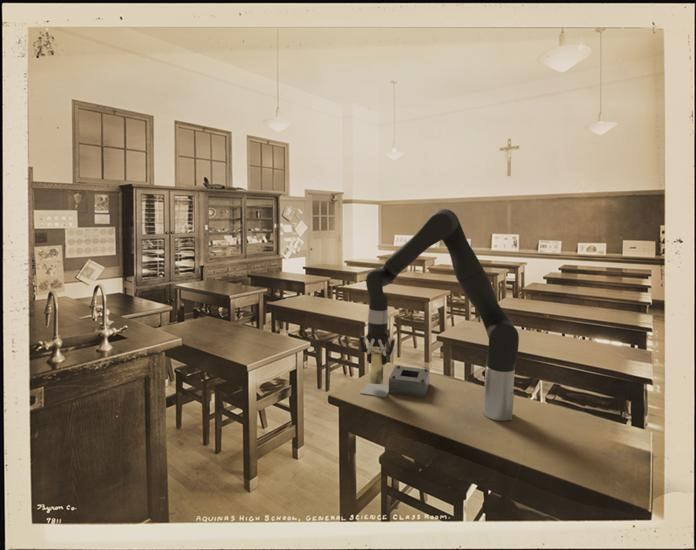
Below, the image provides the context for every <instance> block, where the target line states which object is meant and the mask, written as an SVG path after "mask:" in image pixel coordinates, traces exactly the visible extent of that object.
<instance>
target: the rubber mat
mask: <svg viewBox="0 0 696 550" xmlns="http://www.w3.org/2000/svg"><path fill="white" fill-rule="evenodd" d="M388 394H390V393H389V384H387V385H386V384H373V383H371V382H366V384H365V385H364V387H363V388H362V390H361V392H360V395H367V396H372V397H373V396H374V397H382V398H387V397H388Z"/></svg>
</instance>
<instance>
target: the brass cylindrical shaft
mask: <svg viewBox="0 0 696 550" xmlns="http://www.w3.org/2000/svg"><path fill="white" fill-rule="evenodd" d="M369 373H370V374H369V376H370V377H369V381H370V382H369V383H373V384H380V385H382V384H383V383H384V365H383V352H382V350H381V349H372V350H371V363H370V371H369Z"/></svg>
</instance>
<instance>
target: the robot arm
mask: <svg viewBox="0 0 696 550" xmlns="http://www.w3.org/2000/svg"><path fill="white" fill-rule="evenodd" d="M440 241H442V242H443V244H444V245H445V247H446V249H447V250H448V253H449V256H450V259H451V261H450V262H451V265H452V269H453V272H454V275H455V278H456V280H457V282H458V284H459V286H460V288H461V289H462V291H463V293H464V295H465V296H466V298H467V299H468V300H469V302H470V303H471V304H472V305H473V307H474V308H475V309H476V311H477V312H478V314H479V317H480V320H481V321H482V324H483V326H484V328H485V331H486V334H487V338H488V349H487V356H486V361H485V375H484V387H483V388H484V391H483V392H484V393H483V406H482V414H483V415H484V416H485V417H486V418H488V419H491V420H493V421H498V422H502V421H503V422H504V421H513V411H514V398H515V397H514V396H515V393H514V387H515V374H516V371H515V370H516V364H517V361H518V356H519V355H518V353H519V343H520V334H519V332H518V330H517V328H516V327H515V325H514V324H513V323H512V322H511V320H510V319H509V317H508V316H507V315H506V313H505V312H504V310H503V309H502V307H501V305H500V304H499V302H498V299H497V297H496V294H495V291H494V290H495V289H494V288H493V285H492V283H491V280H490V279H489V277H488V275H487V273H486V271H485V269H484V267H483V266H482V264H481V262H480V260H479V259H478V257H477V255H476V253H475V251H474V250H473V249H472V246H471V245H470V243H469V242H468V239H467V238H466V235H465V232H464V230H463V227H462V224H461V222H460V219H459V217H458V215H457V214H456V213H455V212H454V211H452V210H451V209H448V208H444V209H443V208H442V209H439V210H437V211H435V212H434V213H432V214H431V215H430V216H429V217H428V219H427V221H425V223H424V224H423V226H421V228H420V229H419V230H418V231H417V233H415V234H414V235H413V236H412V237H411V238H410V239H409V240H408V241H406V242H405V243H404V244H403V245H401V246H400V247H399V248H397V249H396V250H395V251H394V252H393V253H391V255H389V256H388V257H387V259H386V260H385V261H384V264H383V265H382V266H381V267H379V268H374V269H371V270H369V271H368V273H367V275H366V277H365V283H366V288H367V289H366V290H367V294H368V298H369V303H368V305H369V306H368V312H367V313H368V316H367V334H366V335H364V334H363V335H361V336H360V337H359V342H360V346H361V350H362V352H363V353H366V362H367V363H368V364H371V351H372V350H373V348H375V347H377V348H380V350H382V352H383V366H385V365H386V364H387V362H388V356H391V355H392V353H393V351H394V348H395V344H396V338H391V337H390V336H389V335H388V332H389V331H388V329H389V328H388V327H389V326H388V325H389V311H388V308H389V307H388V306H389V303H388V302H389V298H388V297H389V296H388V295H387V294H386V293H384V289H383V287H386V286H388V285H389V284H391V283H392V282H393V281H394V280H395V279H396V278H397V277H398V275H399V274H400V273H402V272H403V271H404V270H405V269H407V268H408V267H410V266H411V264H412V263H413V262H415V261H416V260H417V258H419V257H420V256H421V255H422V254H423V253H424V252H425V251H426V250H428V249H429V248H430V247H433V245H435V244H437V243H438V242H440ZM366 341H368V343H369V346H368V347H367V343H366ZM387 342H388V344H389V348H388V349H387V345H386V344H387Z"/></svg>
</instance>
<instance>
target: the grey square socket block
mask: <svg viewBox="0 0 696 550" xmlns="http://www.w3.org/2000/svg"><path fill="white" fill-rule="evenodd" d="M430 371H431V370H430V369H428V368H419V367H412V366H403V365H395V366H394V367H393V370H392V372H391V373H390V375H389V377H388V386H389V393H388V394H394V395H401V396H407V397H414V398H421V399H422V398H423V399H426V396H427V394H428V389H429V385H430Z"/></svg>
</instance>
